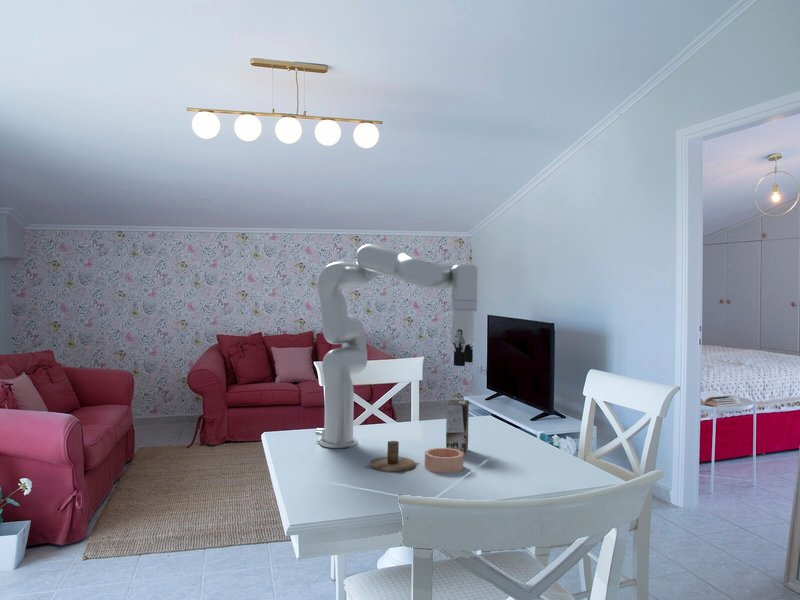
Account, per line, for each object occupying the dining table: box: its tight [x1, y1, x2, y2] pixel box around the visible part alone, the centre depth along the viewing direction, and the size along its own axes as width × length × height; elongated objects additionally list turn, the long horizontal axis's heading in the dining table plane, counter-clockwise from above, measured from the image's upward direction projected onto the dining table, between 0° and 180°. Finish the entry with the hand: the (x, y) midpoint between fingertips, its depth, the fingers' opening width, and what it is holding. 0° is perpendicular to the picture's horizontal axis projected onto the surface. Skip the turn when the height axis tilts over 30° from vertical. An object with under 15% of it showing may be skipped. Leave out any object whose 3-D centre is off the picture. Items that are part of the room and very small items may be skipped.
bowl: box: [423, 447, 465, 474], centre depth 182 cm, size 11×11×4 cm
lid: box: [369, 440, 416, 473], centre depth 182 cm, size 13×13×7 cm
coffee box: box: [445, 399, 470, 457], centre depth 199 cm, size 9×6×16 cm
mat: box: [364, 461, 421, 475], centre depth 182 cm, size 12×12×1 cm
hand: (463, 363), depth 186 cm, fingers open, 9 cm apart
